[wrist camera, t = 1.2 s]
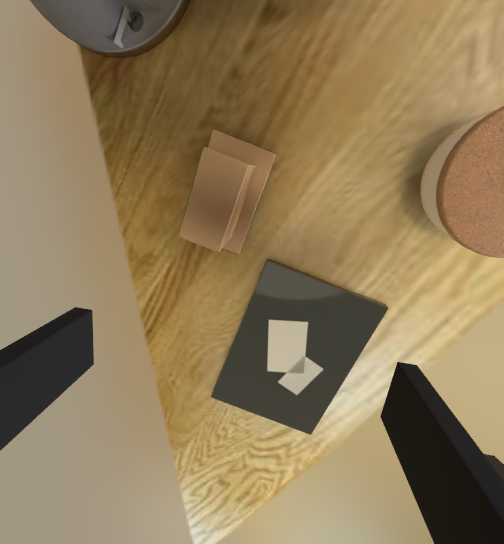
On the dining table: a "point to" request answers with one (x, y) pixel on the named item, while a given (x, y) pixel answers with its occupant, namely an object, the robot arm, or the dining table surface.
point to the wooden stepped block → (225, 193)
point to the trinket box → (469, 185)
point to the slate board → (295, 346)
